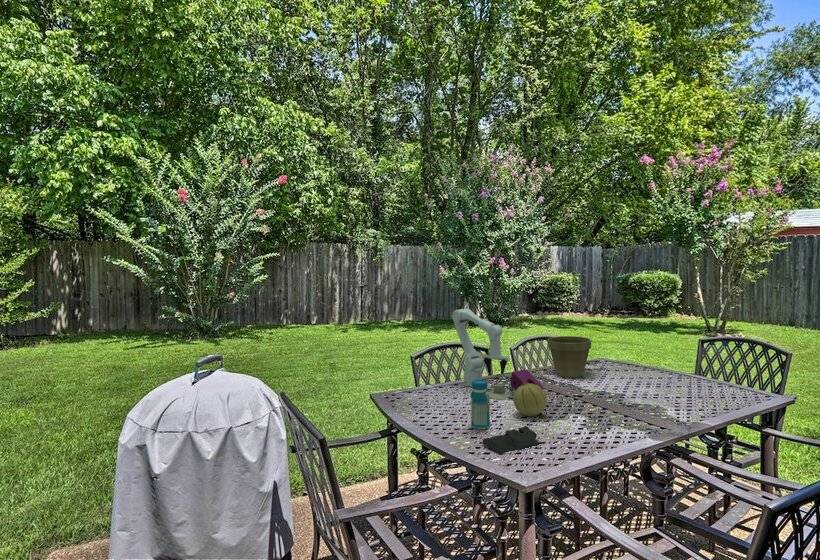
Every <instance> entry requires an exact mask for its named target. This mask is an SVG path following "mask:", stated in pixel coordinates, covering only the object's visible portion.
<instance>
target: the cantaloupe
mask: <svg viewBox="0 0 820 560" xmlns="http://www.w3.org/2000/svg"><path fill="white" fill-rule="evenodd" d="M547 402H548V401H547V396H546V393H545V392H544V389H543V390H542V389H541V388H540V387H539V386H537V385H535V384H525V383H522V385H521V386H520V387H518V388H517V389H516V390H515V391H514V393H513V405H514V407H515V409H516V410H517V412H519V413H520V414H521V415H522V416H527V417H535V416H538V415H541V413H543V412H544V410H545V409H546V408H547V405H548V404H547Z"/></svg>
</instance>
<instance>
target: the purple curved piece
mask: <svg viewBox="0 0 820 560" xmlns="http://www.w3.org/2000/svg"><path fill="white" fill-rule="evenodd" d="M509 383H510V384H509V385H510V386H511V388H512V389H513V388H514V389H513V390H515V389H517V388H518V387H520V386H521V385H522V383H525V384H535V385H537V386H539V387H540V388H541V389H542V390H543V391H544V386H543V385H542V383H541V382H540V381H539V380H537V378H536V377H534V376H533V375H532V373H530V371H528V370H527V369H526V368H525V369H520V370H514V371H512V372H511V376H510V379H509Z"/></svg>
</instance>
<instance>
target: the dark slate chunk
mask: <svg viewBox="0 0 820 560" xmlns="http://www.w3.org/2000/svg"><path fill="white" fill-rule="evenodd" d="M517 428H518V430H517V429H511V430H510V429H508V430H505V432H504V434H498V435H495V436H491V437H485V438H482V443H483V444H484V445H486V446H487V447H488V448H489V449H490V450H492V451H493V452H494V453H496V452H497V453H496V454H498V453H501V454H502V453H505V452H509V451H515V450H521V451H523V450H522V449H525V448H529V447H532V446H536V447H538V446H537V445H539V444H541V445H542V442H541V443H540V441H539V440H537V436H538V434H537V433H536V432H535V431H533V430H532V429H530V428H529V427H528V426H526V425H525V426H522V427H517ZM538 441H539V442H538ZM532 448H533V447H532ZM529 449H530V448H529ZM525 450H526V449H525ZM501 454H500V455H501Z"/></svg>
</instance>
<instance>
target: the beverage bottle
mask: <svg viewBox="0 0 820 560" xmlns="http://www.w3.org/2000/svg"><path fill="white" fill-rule="evenodd" d="M487 387H488V380H485V379H482V378H481V379H478V380H473V381H472V387H471V390H473V391H472V393H471V392H470V393H471V394H470V395H469V398H470V401H469V403H470V404H469V405H470V416H471V417H470V419H471V421H470V426H471V427H472V428H473V429H475V428H477V429H476V430H487V429H489V428H490V427H491V417H490V413H491V412H490V410H491V409H490V406H491V401H490V398H489V394H488V392H487ZM486 428H487V429H486Z"/></svg>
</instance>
